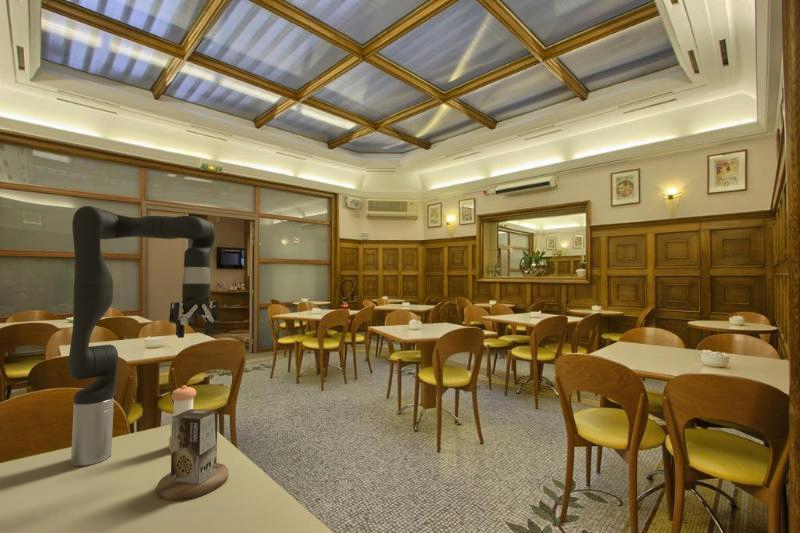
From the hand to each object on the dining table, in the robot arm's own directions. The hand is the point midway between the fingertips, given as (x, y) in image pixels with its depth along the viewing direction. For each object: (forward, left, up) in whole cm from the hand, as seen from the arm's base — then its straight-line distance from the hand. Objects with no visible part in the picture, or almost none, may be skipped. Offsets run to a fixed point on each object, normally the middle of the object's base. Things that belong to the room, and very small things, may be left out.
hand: (194, 336), depth 111 cm
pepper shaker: (-11, +4, -36) cm, 38 cm away
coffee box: (+14, -8, -35) cm, 38 cm away
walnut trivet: (+14, -8, -36) cm, 40 cm away
